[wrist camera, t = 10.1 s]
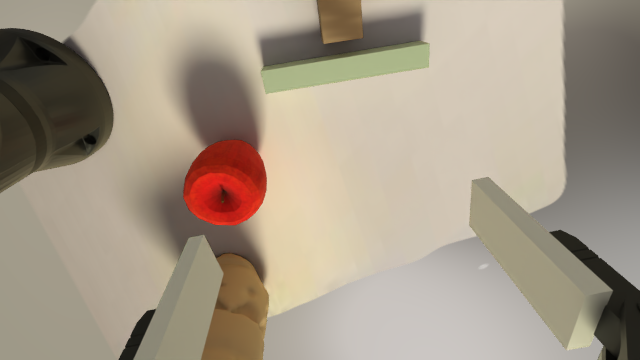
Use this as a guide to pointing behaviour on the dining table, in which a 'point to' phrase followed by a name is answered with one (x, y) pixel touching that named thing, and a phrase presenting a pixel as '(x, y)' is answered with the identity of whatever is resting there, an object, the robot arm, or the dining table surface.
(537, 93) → the dining table surface
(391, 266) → the dining table surface
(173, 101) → the dining table surface
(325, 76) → the rail
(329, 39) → the walnut block
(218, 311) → the container
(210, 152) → the apple
